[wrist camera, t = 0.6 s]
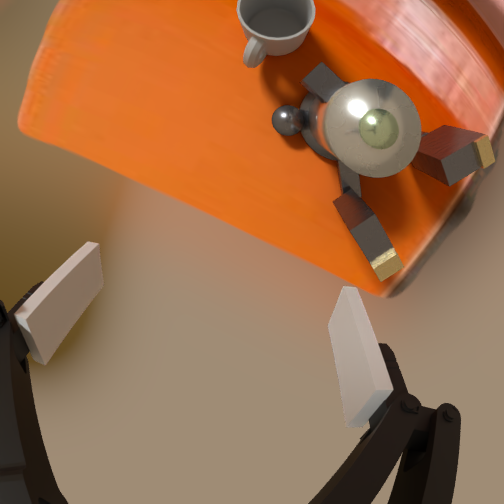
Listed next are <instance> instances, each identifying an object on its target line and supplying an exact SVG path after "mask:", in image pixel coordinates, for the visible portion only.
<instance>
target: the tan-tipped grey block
mask: <svg viewBox="0 0 504 504" xmlns="http://www.w3.org/2000/svg"><path fill="white" fill-rule="evenodd" d="M333 203H334V205H335V207H336V208H337V210H338V212H339V213H340V215H341V217H342V219H343V220H344V222H345V224H346V225H347V227H348V229H349V231H350V232H351V234H352V235H353V237H354V238H355V240H356V242H357V243H358V245H359V246H360V248H361V250H362V251H363V253H364V254H365V256H366V258H367V259H368V261H369V263H370V264H371V266H372V268H373V270H374V271H375V273H376V275H377V276H378V278H379V280H380V281H381V282H382V281H383V280H385V279H386V278H388V277H390V276H391V275H393V274H394V273H396V272H397V271H399V270H400V269H402V268H403V267H404V266H403V264H402V262H401V260H400V258H399V256H398V254H397V253H396V251H395V249H394V248H393V246H392V244H391V242H390V240H389V238H388V236H387V234H386V233H385V231H384V229H383V227H382V225H381V224H380V222H379V220H378V218H377V217H376V215H375V213H374V212H373V211H372V210H371V209H370V208H369V207H368V205H367V204H366V203H365V202H364V201H363V200H362V199H361V198H360V197H359V195H358V194H357V193H356V192H355V191H354V190H353V189H350V190H349V191H347V192H346V193H345V194H343V195H342V196H340V197H339V198H337V199H336V200H334V201H333Z"/></svg>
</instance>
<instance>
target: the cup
mask: <svg viewBox="0 0 504 504" xmlns="http://www.w3.org/2000/svg"><path fill="white" fill-rule="evenodd" d="M237 13H238V18H239V20H240V23H241V26H242V28H243V31H244V33H245V36H246V38H247V40H248V44H247V46H246V48H245V51H244V57H243V62H244V64H245V65H246V66H247V67H250V68H255V67H257V66H258V65H259V64H260V63H261V62H262V61H263V60H264V58H265V57H266V55H273V56H280V55H286V54H289V53H291V52H293V51H294V50H296V49H297V48H298V47H299V46H300V45H301V44H302V43H303V41H304V39H305V37H306V35H307V33H308V31H309V29H310V27H311V25H312V22H313V20H314V18H315V6H314V2H313V0H238V3H237Z"/></svg>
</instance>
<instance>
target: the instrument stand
mask: <svg viewBox="0 0 504 504" xmlns="http://www.w3.org/2000/svg"><path fill="white" fill-rule="evenodd" d="M300 84H302V85H303V86H304V87H305V88H306V89H307V90H308V91H309V93H308V94H307V95H306V96H305V97H304V99H303V101H302V103H301V105H300V108H299V109H297V108H296V107H294V106H290V105H285V106H281V107H279V108H278V109H276V110H275V112H274V113H273V116H272V124H273V127H274V128H275V130H276V131H277V132H278V133H280V134H282V135H286V136H291V135H294V134H296V133H298V132H299V131H301V134H302V136H303V138H304V140H305V141H306V143H307V144H308V145H309V146H310V147H311V148H312V149H313V150H314V151H315V152H317V153H318V154H320V155H321V156H323V157H325V158H328V159H331V160H336V162H337V168H338V174H339V181H340V188H341V195H343V194H345V193H346V192H347V191H349V190H350V189H353V190H354V191H355V192H356V193H357V194H358V195H359V197H361V188H360V180H359V174H361V175H364V176H368V177H374V178H382V177H388V176H391V175H394V174H396V173H398V172H400V171H401V170H403V169H404V168H405V167H406V166H408V164H409V163H410V162H411V161H412V160H413V158H414V157H415V155H416V153H417V151H418V148H419V145H420V140H421V123H420V118H419V115H418V112H417V110H416V107H415V106H414V104H413V102H412V101H411V99H410V98H409V97H408V96H407V95H406V94H405V93H404V92H403V91H402V90H401V89H400V88H398V87H397V86H395V85H393V84H391V83H389V82H386V81H383V80H378V79H364V80H360V81H356V82H353V83H348V82H344V81H342V80H341V79H340V78H339V77H338V76H337V75H336V74H334V73H333V72H332V71H331V70H330V69H329V68H328V67H327V66H326V65H325V64H324V63H323V62H321V63H320V64H319V65H317V66H316V67H315V68H314V69H313V70H312V71H311V72H310V73H309V74H308V75H307V76H306V77H305V78H304V79H303V80H302V81H301V82H300Z"/></svg>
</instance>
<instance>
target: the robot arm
mask: <svg viewBox="0 0 504 504" xmlns="http://www.w3.org/2000/svg"><path fill="white" fill-rule="evenodd" d="M103 286H104V283H103V276H102V268H101V260H100V249H99V244H98V243H92V242H87V243H86V244H84V245H83V246H82V247H81V248H80V249H79V250H78V251H77V252H76V253H75V254H73V255H72V256H71V257H70V258H69V259H68V260H67V261H66V262H65V263H64V264H63V265H62V266H61V267H59V268H58V269H57V270H56V271H55V272H54V273H53V274H52V275H51V276H50V277H49V278H48V279H47V280H46V281H45V282H40V283H38V284H37V285H35V286H33V287H32V288H31V289H30V290H29V291H28V293H26V294H25V295H24V296H23V298H22V299H20V301H18V302H17V304H16V305H15V306H14V307H13V308H12V309H11V310H10V311H9V312H8V313H7V311H6V309H5V306H4V303H3V302H2V301H1V300H0V504H68V502H67V501H66V499H65V498H64V496H63V495H62V493H61V492H60V490H59V488H58V486H57V483H56V481H55V478H54V475H53V472H52V469H51V466H50V463H49V460H48V456H47V453H46V450H45V446H44V443H43V439H42V435H41V431H40V427H39V423H38V419H37V414H36V409H35V404H34V398H33V393H32V386H31V379H30V372H29V364H28V359H27V357H26V355H27V354H28V353H29V351H30V353H31V355H32V357H33V359H34V360H35V361H37V362H39V363H41V364H43V365H46V364H47V363H48V361H49V360H50V358H51V357H52V355H53V354H54V352H55V351H56V349H57V348H58V346H59V345H60V343H61V342H62V341H63V339H64V338H65V336H66V335H67V333H68V332H69V331H70V329H71V328H72V327H73V325H74V324H75V322H76V321H77V320H78V318H79V317H80V316H81V314H82V313H83V312H84V310H85V309H86V308H87V306H88V305H89V304H90V302H91V301H92V300H93V299H94V297H95V296H96V294H97V293H98V292H99V291H100V290H101V288H102V287H103ZM328 330H329V334H330V339H331V344H332V349H333V354H334V359H335V365H336V370H337V375H338V381H339V387H340V392H341V398H342V404H343V410H344V417H345V422H346V427H363V426H364V425H365V424H366V422H367V421H368V420H369V424H370V428H369V429H368V430H367V431H366V433H365V434H364V435H363V436H362V437H361V438H360V439H361V440H360V442H359V443H358V445H357V446H356V447H355V449H354V450H353V451H352V453H351V454H350V455H349V456H348V458H347V459H346V461H345V462H344V463H343V464H342V465H341V467H340V468H339V469H338V470H337V472H336V473H335V474H334V476H332V478H331V479H330V480H329V481H328V482H327V483H326V485H325V486H324V487H323V488H322V489H321V490H320V492H319V493H318V494H317V495H316V496H315V497H314V498H313V499H312V500H311V501H310V502H309V503H308V504H371V502H372V501H373V499H374V498H375V497H376V495H377V494H378V492H379V491H380V489H381V488H382V486H383V484H384V483H385V481H386V480H387V478H388V476H389V475H390V473H391V471H392V470H393V468H394V466H395V465H396V463H397V461H398V459H399V457H400V456H401V454H402V457H401V461H400V465H399V468H398V472H397V475H396V479H395V482H394V486H393V489H392V492H391V495H390V498H389V501H388V504H451V503H452V498H453V493H454V487H455V481H456V473H457V465H458V456H459V445H460V429H461V428H460V427H461V417H460V413H459V411H458V409H457V408H456V407H455V406H453V405H452V404H449V403H444V404H441V405H440V406H439V407H438V408H437V409H431V408H427V407H423V406H421V403H420V401H419V400H418V399H417V398H416V397H415V396H413V395H411V394H409V393H408V391H407V388H406V385H405V383H404V379H403V377H402V374H401V371H400V369H399V366H398V363H397V362H396V358H395V355H394V353H393V351H392V350H391V349H390V347H389V346H388V345H387V344H382V343H378V342H377V339H376V337H375V334H374V331H373V328H372V326H371V323H370V321H369V318H368V315H367V313H366V310H365V307H364V305H363V302H362V300H361V297H360V295H359V293H358V290H357V288H355V287H348V286H343V288H342V290H341V293H340V296H339V299H338V301H337V304H336V306H335V309H334V311H333V314H332V316H331V319H330V321H329V324H328ZM402 452H403V453H402Z"/></svg>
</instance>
